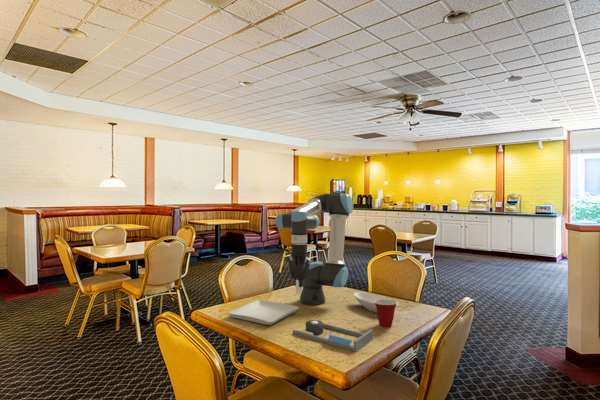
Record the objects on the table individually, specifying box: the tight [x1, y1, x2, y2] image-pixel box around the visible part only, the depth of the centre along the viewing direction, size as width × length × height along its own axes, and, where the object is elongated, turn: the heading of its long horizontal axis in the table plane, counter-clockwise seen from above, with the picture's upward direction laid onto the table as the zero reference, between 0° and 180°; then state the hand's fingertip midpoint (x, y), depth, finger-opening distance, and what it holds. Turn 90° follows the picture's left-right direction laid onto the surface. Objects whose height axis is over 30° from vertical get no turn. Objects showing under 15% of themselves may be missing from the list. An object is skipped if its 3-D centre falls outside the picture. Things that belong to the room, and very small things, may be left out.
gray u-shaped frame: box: [292, 322, 374, 353], centre depth 155 cm, size 32×16×4 cm, turn 54°
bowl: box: [353, 291, 399, 313], centre depth 194 cm, size 30×15×6 cm, turn 33°
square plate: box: [227, 299, 300, 326], centre depth 182 cm, size 27×27×4 cm
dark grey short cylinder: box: [305, 319, 324, 336], centre depth 161 cm, size 8×8×4 cm
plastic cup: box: [374, 298, 398, 329], centre depth 169 cm, size 11×11×12 cm
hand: (298, 293), depth 166 cm, fingers closed
